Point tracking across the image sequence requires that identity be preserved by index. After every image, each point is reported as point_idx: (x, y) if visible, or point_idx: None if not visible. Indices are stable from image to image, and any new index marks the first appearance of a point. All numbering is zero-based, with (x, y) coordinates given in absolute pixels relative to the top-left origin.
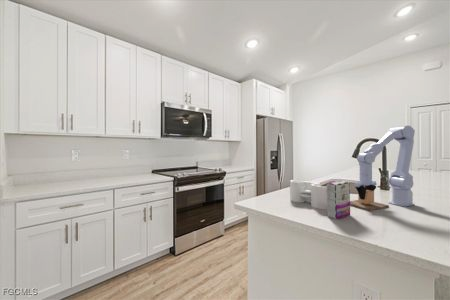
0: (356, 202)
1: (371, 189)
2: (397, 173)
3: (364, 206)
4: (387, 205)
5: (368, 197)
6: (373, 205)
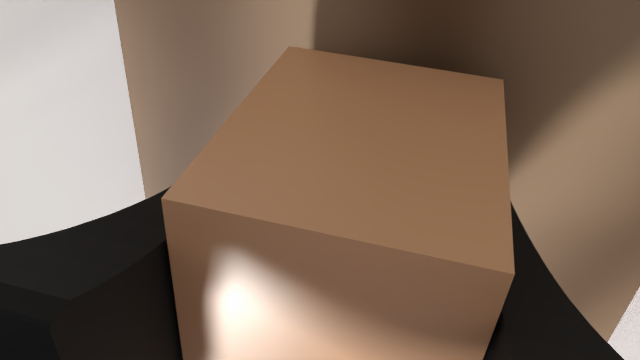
0: None
1: (147, 291)
2: None
3: (633, 72)
4: None
5: (472, 150)
6: (380, 6)
